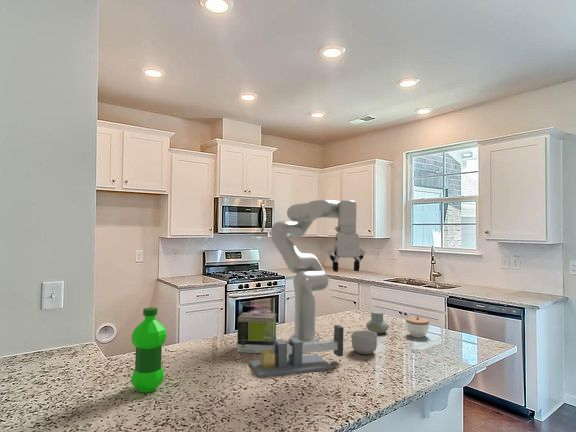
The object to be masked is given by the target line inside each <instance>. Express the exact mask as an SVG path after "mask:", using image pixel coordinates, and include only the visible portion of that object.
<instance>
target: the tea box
mask: <svg viewBox="0 0 576 432" xmlns="http://www.w3.org/2000/svg"><path fill="white" fill-rule="evenodd" d="M275 339H277V313H273V312H271V313H270V312H242V313H240V315H238V317H237V340H236V341H237V345H236V346H237V350H236V351H237V353H245V354H246V353H247V354H249V353H250V354H261V350H272V351H273V352H274V340H275Z"/></svg>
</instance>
